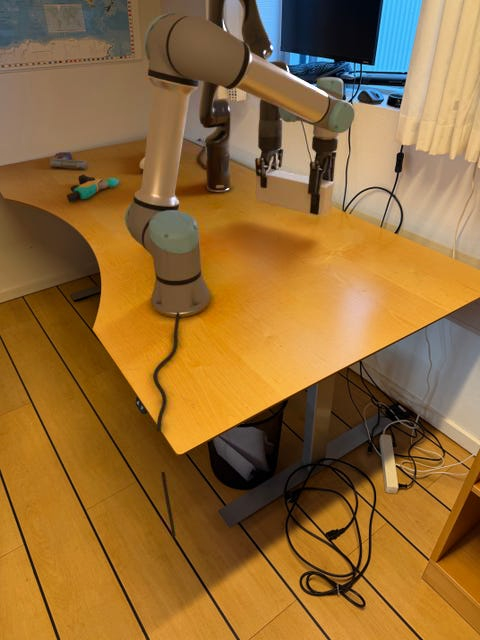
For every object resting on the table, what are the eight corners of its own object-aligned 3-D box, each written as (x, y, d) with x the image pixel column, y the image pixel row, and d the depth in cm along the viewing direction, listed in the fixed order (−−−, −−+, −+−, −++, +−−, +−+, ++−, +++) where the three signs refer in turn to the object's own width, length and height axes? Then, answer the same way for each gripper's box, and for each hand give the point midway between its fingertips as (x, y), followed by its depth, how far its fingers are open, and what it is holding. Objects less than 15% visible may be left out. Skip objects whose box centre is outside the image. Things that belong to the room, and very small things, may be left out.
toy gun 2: (44, 189, 181) (74, 196, 175) (91, 169, 199) (119, 175, 193) (47, 200, 183) (76, 207, 178) (93, 180, 202) (121, 186, 196)
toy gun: (98, 160, 223) (83, 171, 211) (61, 158, 226) (45, 169, 214) (96, 152, 220) (81, 162, 208) (59, 150, 223) (43, 160, 212)
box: (330, 211, 155) (334, 182, 149) (322, 217, 151) (325, 187, 146) (264, 194, 167) (265, 167, 161) (255, 200, 163) (256, 172, 157)
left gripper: (327, 127, 148) (321, 198, 162) (298, 142, 136) (294, 217, 150) (350, 130, 145) (341, 202, 159) (322, 146, 132) (315, 223, 146)
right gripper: (271, 126, 157) (270, 176, 167) (247, 136, 147) (247, 188, 157) (291, 129, 153) (288, 180, 163) (268, 140, 144) (266, 193, 154)
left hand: (318, 209), depth 154 cm, fingers closed on box, 6 cm apart
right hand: (268, 184), depth 160 cm, fingers closed on box, 6 cm apart
